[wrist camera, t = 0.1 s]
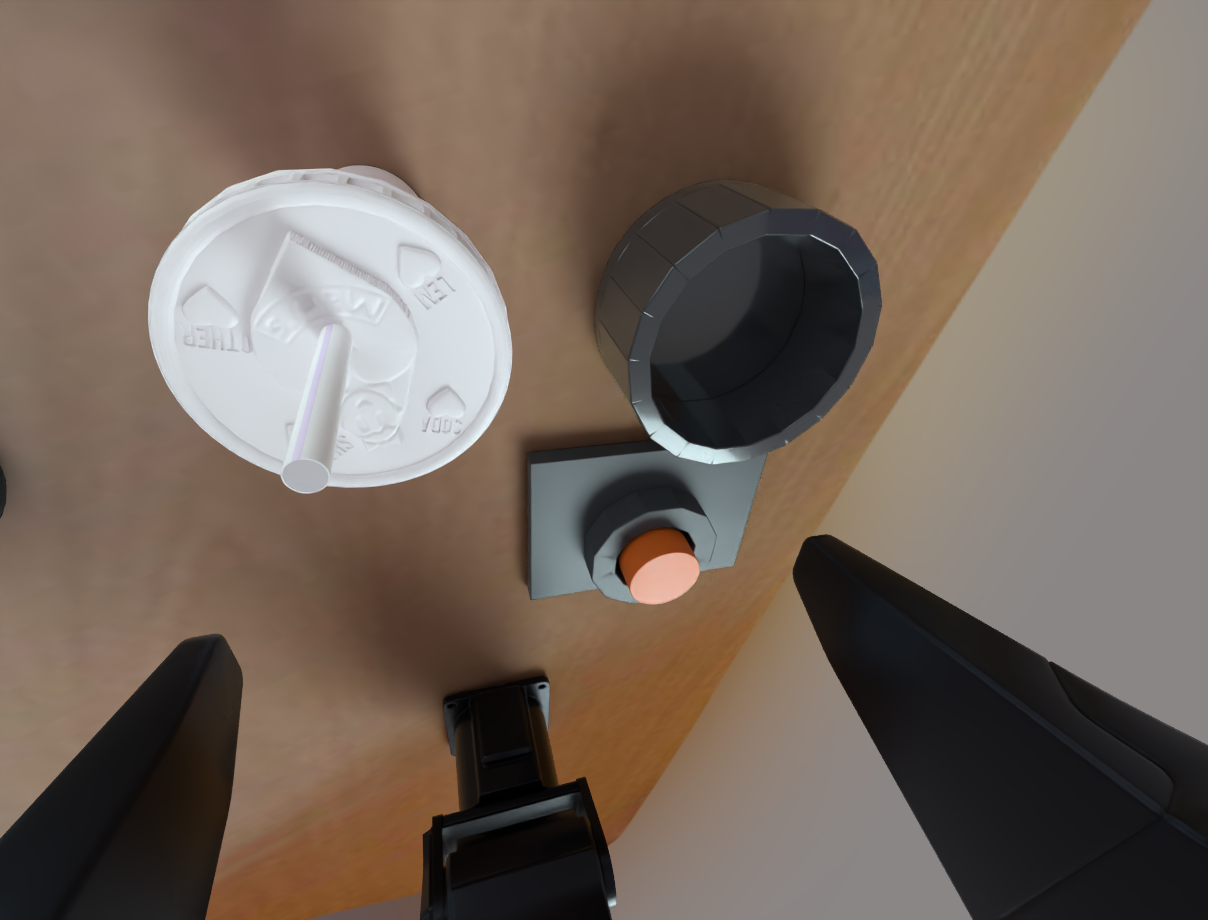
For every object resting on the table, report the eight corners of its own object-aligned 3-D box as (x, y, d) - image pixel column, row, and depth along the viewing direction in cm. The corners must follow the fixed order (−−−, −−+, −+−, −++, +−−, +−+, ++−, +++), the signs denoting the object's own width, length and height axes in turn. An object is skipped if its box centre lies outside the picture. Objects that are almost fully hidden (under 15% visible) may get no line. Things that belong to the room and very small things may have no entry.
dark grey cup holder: (778, 398, 27) (832, 451, 24) (585, 415, 25) (615, 476, 21) (842, 183, 22) (925, 210, 18) (601, 175, 19) (645, 205, 16)
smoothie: (440, 95, 17) (507, 205, 6) (492, 301, 21) (588, 589, 10) (212, 133, 16) (-204, 346, 5) (313, 341, 20) (204, 706, 9)
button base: (727, 555, 33) (746, 586, 32) (527, 587, 30) (536, 625, 28) (763, 428, 28) (789, 457, 26) (526, 452, 25) (536, 486, 23)
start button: (680, 572, 30) (693, 597, 28) (615, 583, 29) (626, 610, 27) (691, 522, 28) (706, 547, 26) (622, 532, 27) (634, 558, 25)
